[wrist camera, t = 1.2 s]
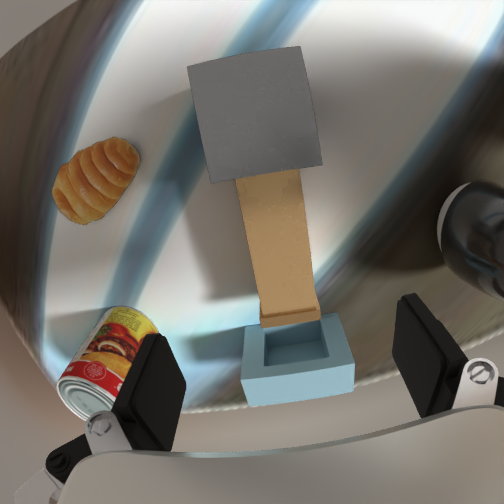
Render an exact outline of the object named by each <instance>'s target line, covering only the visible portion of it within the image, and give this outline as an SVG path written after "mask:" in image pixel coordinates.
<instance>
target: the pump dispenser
mask: <svg viewBox="0 0 504 504" xmlns="http://www.w3.org/2000/svg"><path fill="white" fill-rule="evenodd" d="M437 237H438V243H439V246H440V249H441V252H442V256H443V259H444V261H445V263H446V265H447V266H448V268H449V269H450V270H451V271H452V272H453V273H454V274H455V275H456V276H457V277H459V278H460V279H461V280H463V281H464V282H466V283H467V284H469V285H471V286H472V287H474V288H475V289H477V290H479V291H481V292H483V293H485V294H487V295H489V296H491V297H494V298H496V299H499V300H502V301H504V186H502V185H501V184H498V183H496V182H494V181H491V180H485V179H482V180H476V181H473V182H470V183H467V184H464V185H462V186H460V187H458V188H457V189H456V190H454V191H453V192H452V193H451V194H450V195H449V196H448V198H447V199H446V201H445V202H444V204H443V206H442V208H441V211H440V214H439V217H438V223H437Z"/></svg>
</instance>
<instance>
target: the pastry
mask: <svg viewBox="0 0 504 504" xmlns="http://www.w3.org/2000/svg"><path fill="white" fill-rule="evenodd" d="M139 162H140V159H139V154H138V153H137V151H136V149H135V147H134V146H133V145H131V144H130V143H128V142H127V141H126V140H124V139H120V138H117V137H112V138H110V139H107V140H105V141H101V142H97V143H95V144H93V145H92V146H90V147H88V148H86V149H84V150H80V151H78V152H77V153H76V154H75V155H74V157H73V158H72V159H71V161H70V162H68V163H67V164H63V165H62V166H61V168H60V170H59V172H58V174H57V177H56V180H55V182H54V187H53V189H52V195H53V198H54V201H55V203H56V205H57V207H58V208H59V210H60V212H61V213H63V214H64V215H65V216H66V217H67V218H68V219H69V220H71V221H72V222H74V223H78V224H82V225H87V224H88V223H90V222H92V221H97V220H99V219H101V218H103V217H104V216H105V214H106V213H107V212H108V211H109V210H110V209H111V208H112V207H113V206H114V205H115V204H116V203H117V201H118V200H119V198H120V197H121V195H122V194H123V192H124V191H125V190H126V188H127V187H128V185H129V184H130V183H131V181H132V180H133V178H134V177H135V175H136V172H137V169H138V166H139Z"/></svg>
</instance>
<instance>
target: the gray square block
mask: <svg viewBox="0 0 504 504" xmlns="http://www.w3.org/2000/svg"><path fill="white" fill-rule="evenodd" d="M187 70H188V75H189V80H190V86H191V91H192V96H193V101H194V105H195V110H196V115H197V120H198V125H199V130H200V135H201V139H202V144H203V149H204V153H205V158H206V163H207V167H208V172H209V176H210V181H211V184H213V183H218V182H223V181H228V180H233V179H239V178H244V177H250V176H255V175H261V174H267V173H273V172H279V171H286V170H292V169H299V168H306V167H313V166H320V165H322V159H321V152H320V146H319V139H318V133H317V127H316V121H315V115H314V110H313V104H312V99H311V94H310V89H309V84H308V79H307V74H306V69H305V65H304V60H303V56H302V51H301V47H300V46H295V47H286V48H278V49H270V50H264V51H257V52H251V53H245V54H240V55H235V56H230V57H225V58H220V59H216V60H211V61H207V62H203V63H199V64H195V65H191V66H187Z"/></svg>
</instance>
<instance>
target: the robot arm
mask: <svg viewBox="0 0 504 504" xmlns="http://www.w3.org/2000/svg"><path fill="white" fill-rule="evenodd" d="M392 354H393V358H394V361H395V363H396V365H397V367H398V369H399V371H400V373H401V375H402V377H403V379H404V381H405V384H406V386H407V388H408V390H409V392H410V395H411V397H412V399H413V401H414V404H415V406H416V408H417V410H418V413H419V415H420V417H421V418H422V419H419V420H416V421H412V422H409V423H406V424H402V425H399V426H395V427H392V428H388V429H384V430H380V431H376V432H373V433H369V434H364V435H360V436H356V437H351V438H346V439H341V440H337V441H330V442H325V443H319V444H312V445H306V446H299V447H292V448H283V449H272V450H261V451H245V452H220V453H195V452H170V451H171V449H172V446H173V441H174V436H175V433H176V428H177V424H178V420H179V416H180V412H181V408H182V404H183V399H184V395H185V391H186V381H185V379H184V377H183V375H182V372H181V370H180V368H179V366H178V364H177V362H176V359H175V357H174V355H173V353H172V350H171V348H170V346H169V343H168V341H167V339H166V337H165V336H162V335H161V334H160V333H152V334H146V335H145V337H144V339H143V341H142V343H141V345H140V347H139V349H138V352H137V354H136V356H135V358H134V360H133V362H132V364H131V366H130V368H129V371H128V373H127V375H126V377H125V379H124V381H123V384H122V386H121V388H120V390H119V393H118V395H117V397H116V399H115V402H114V404H113V407H112V409H111V411H106V410H102V411H98V412H95V413H94V414H92V415H91V416H90V417H89V418H88V419H87V420H86V422H85V425H84V432H85V433H84V434H83V435H81V436H79V437H77V438H75V439H74V440H72V441H70V442H68V443H66V444H64V445H62V446H61V447H59V448H57V449H55V450H53V451H52V452H51V453H50V454H49V455H48V457H47V459H46V468H45V469H43V468H41V469H40V470H38V471H37V472H36V473H35V474H34V475H33V476H32V477H31V478H29V479H28V480H27V481H26V482H25V483H24V484H23V485H22V486H21V487H20V488H19V489H17V491H16V492H15V494H14V504H504V378H503V377H499V376H498V369H497V367H496V366H495V365H494V364H493V362H491V361H489V360H487V359H484V358H476V359H473V360H470V361H469V360H468V358H467V357H466V356H465V354H464V353H463V351H462V350H461V349H460V347H459V346H458V344H457V343H456V342H455V340H454V339H453V338H452V336H451V335H450V334H449V332H448V331H447V330H446V328H445V327H444V326H443V324H442V323H441V322H440V321H439V320H437V319H436V318H435V317H434V315H433V314H432V313H431V312H430V310H429V309H428V308H427V306H426V305H425V304H424V303H423V301H422V300H421V299H420V298H419V296H418V295H417V294H416V293H412V294H408V295H404V296H402V297H401V300H398V302H397V311H396V322H395V332H394V341H393V349H392Z"/></svg>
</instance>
